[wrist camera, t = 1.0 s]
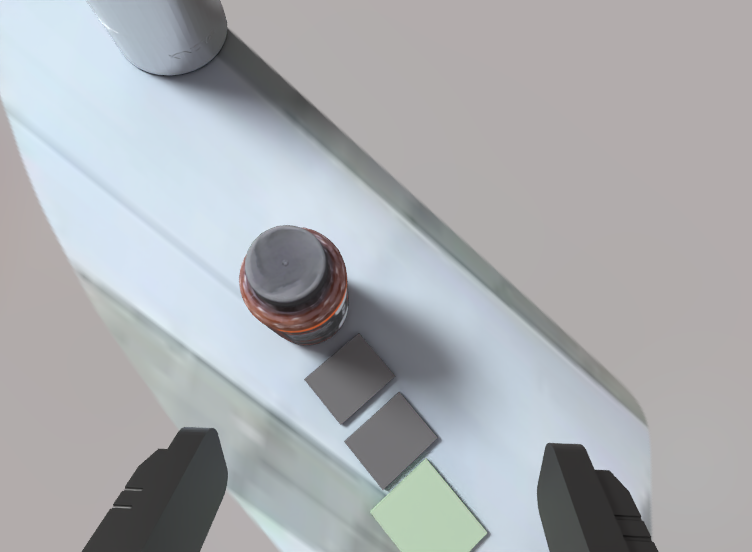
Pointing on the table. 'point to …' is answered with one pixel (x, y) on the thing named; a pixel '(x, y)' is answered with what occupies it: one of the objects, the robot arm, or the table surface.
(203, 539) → the robot arm
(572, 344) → the table surface
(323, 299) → the supplement bottle
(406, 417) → the track
